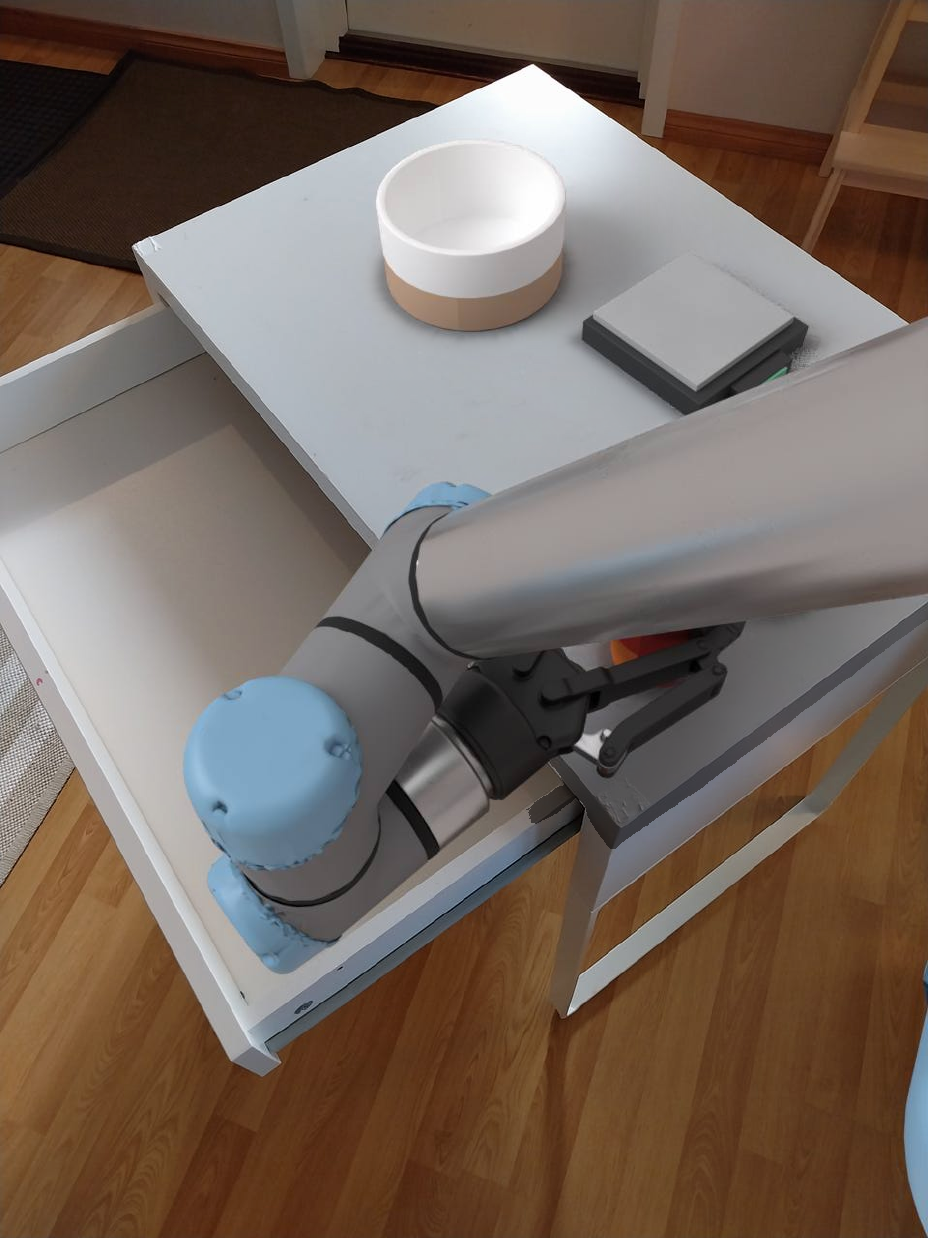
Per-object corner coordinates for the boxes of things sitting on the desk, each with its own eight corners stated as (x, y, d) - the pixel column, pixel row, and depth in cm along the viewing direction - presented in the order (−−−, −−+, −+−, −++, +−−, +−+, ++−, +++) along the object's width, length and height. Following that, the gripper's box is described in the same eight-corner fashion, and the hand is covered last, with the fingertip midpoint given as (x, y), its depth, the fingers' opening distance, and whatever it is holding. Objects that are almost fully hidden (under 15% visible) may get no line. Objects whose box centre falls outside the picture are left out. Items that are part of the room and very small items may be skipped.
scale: (818, 355, 83) (828, 328, 81) (711, 434, 79) (718, 409, 76) (686, 270, 90) (691, 243, 88) (581, 339, 86) (583, 313, 83)
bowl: (427, 354, 86) (419, 278, 78) (360, 247, 94) (348, 169, 87) (594, 296, 89) (601, 218, 82) (514, 197, 97) (514, 119, 90)
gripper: (364, 674, 63) (608, 495, 70) (569, 901, 55) (823, 671, 62) (347, 615, 57) (617, 424, 64) (576, 862, 48) (859, 610, 55)
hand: (718, 546), depth 63 cm, fingers closed on coffee cup, 7 cm apart
